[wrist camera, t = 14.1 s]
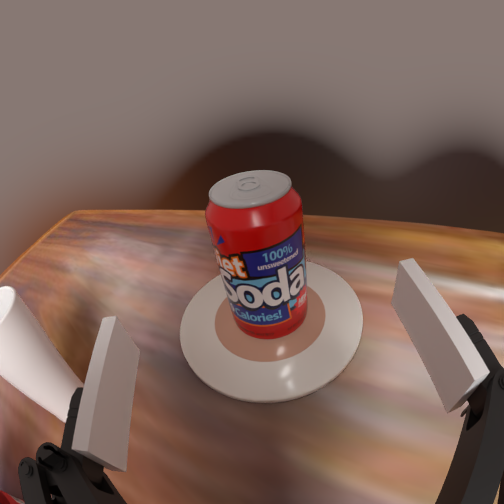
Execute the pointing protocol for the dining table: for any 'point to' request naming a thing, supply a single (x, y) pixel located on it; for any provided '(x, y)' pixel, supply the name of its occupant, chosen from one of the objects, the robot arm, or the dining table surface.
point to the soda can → (260, 251)
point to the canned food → (9, 499)
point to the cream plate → (273, 342)
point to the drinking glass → (33, 358)
